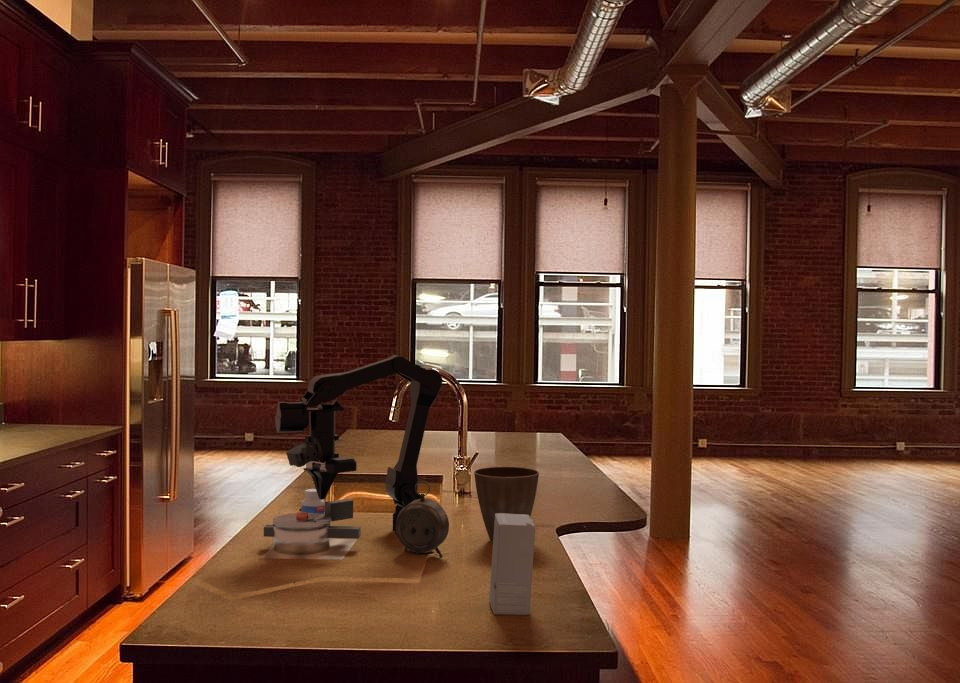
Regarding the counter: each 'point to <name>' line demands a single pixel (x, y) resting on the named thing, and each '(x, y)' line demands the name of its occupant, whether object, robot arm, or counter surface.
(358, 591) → the counter surface
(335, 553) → the trivet
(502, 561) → the skincare box
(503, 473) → the plant pot
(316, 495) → the pill bottle
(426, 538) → the alarm clock
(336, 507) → the lid
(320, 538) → the cooker pot
